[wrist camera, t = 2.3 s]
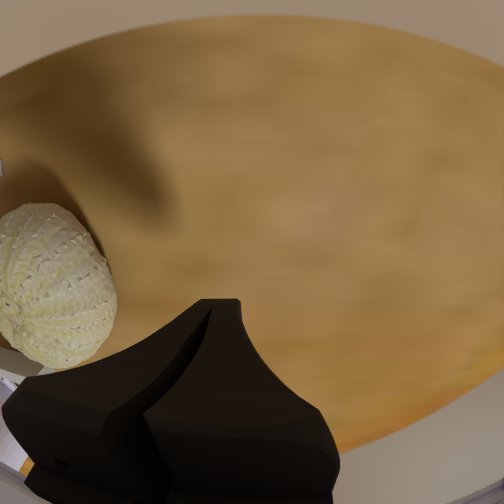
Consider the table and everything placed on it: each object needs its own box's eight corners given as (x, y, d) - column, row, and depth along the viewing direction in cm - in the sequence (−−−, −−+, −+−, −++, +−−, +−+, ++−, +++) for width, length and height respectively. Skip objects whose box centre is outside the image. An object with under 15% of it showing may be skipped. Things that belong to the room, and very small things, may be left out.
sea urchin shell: (-5, 326, 15) (-74, 292, 8) (43, 231, 19) (-1, 163, 11) (101, 393, 16) (53, 398, 8) (148, 282, 19) (133, 222, 12)
